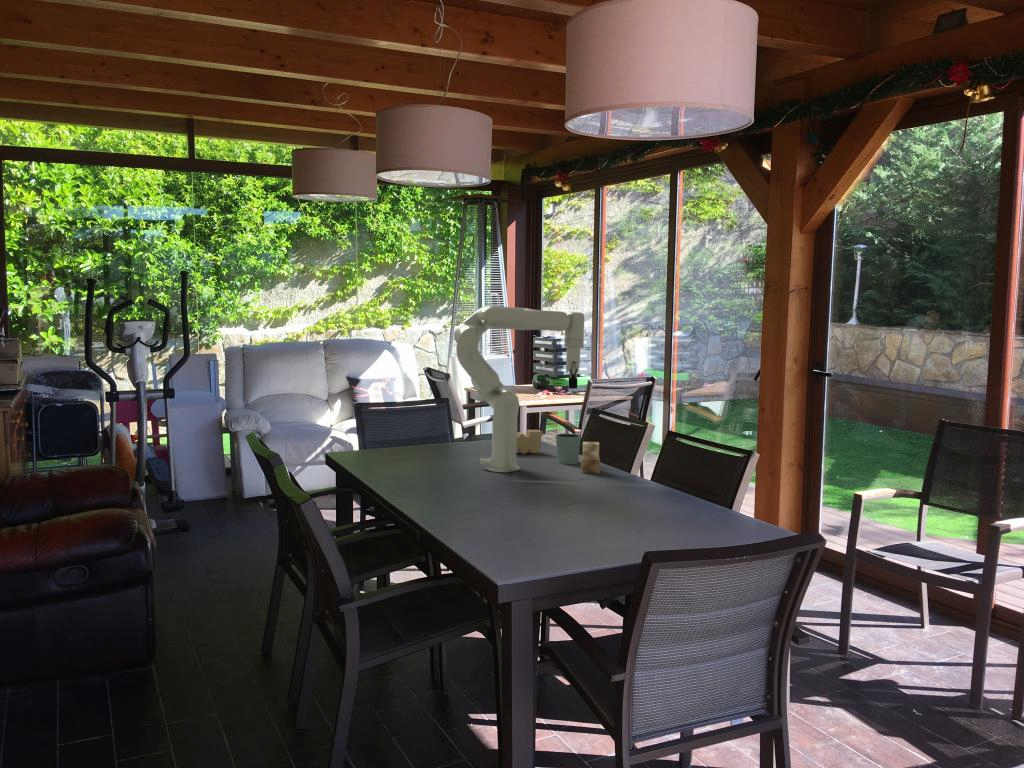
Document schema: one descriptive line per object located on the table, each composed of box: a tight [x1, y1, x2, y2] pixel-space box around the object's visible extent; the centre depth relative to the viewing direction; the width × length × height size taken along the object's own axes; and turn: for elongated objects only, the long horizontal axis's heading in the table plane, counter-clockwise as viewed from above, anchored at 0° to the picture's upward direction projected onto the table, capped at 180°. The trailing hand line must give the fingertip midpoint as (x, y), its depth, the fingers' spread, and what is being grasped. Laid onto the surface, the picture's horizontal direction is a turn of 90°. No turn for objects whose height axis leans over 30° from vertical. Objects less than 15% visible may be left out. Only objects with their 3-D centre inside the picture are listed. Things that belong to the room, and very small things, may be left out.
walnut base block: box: [580, 456, 601, 474], centre depth 337 cm, size 7×7×5 cm
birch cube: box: [582, 441, 600, 460], centre depth 336 cm, size 6×6×6 cm
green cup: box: [555, 433, 581, 465], centre depth 356 cm, size 10×10×12 cm
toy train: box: [516, 429, 544, 455], centre depth 381 cm, size 6×17×10 cm, turn 105°
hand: (572, 387), depth 345 cm, fingers open, 9 cm apart
